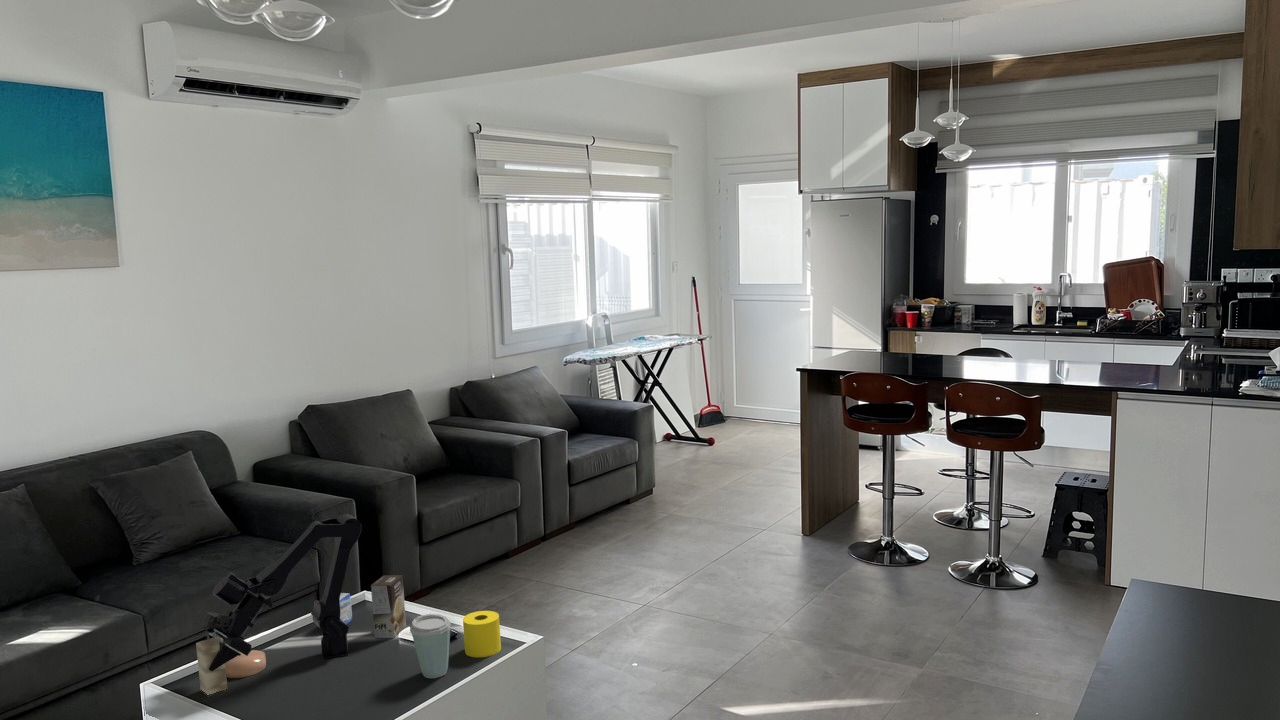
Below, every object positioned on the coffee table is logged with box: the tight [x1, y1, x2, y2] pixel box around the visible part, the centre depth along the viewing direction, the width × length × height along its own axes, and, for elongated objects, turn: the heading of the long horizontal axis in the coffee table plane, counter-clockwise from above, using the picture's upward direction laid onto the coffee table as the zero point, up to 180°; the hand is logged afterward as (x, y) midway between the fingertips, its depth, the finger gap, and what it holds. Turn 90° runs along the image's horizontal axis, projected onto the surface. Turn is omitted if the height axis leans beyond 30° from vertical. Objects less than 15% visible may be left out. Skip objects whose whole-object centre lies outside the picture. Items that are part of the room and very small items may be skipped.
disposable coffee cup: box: [409, 613, 452, 679], centre depth 250 cm, size 11×11×15 cm
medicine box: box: [340, 592, 353, 625], centre depth 288 cm, size 8×4×9 cm, turn 168°
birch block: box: [195, 637, 228, 696], centre depth 247 cm, size 5×5×13 cm
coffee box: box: [370, 574, 407, 639], centre depth 280 cm, size 9×6×16 cm
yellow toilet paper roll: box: [462, 610, 502, 658], centre depth 265 cm, size 10×10×9 cm
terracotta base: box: [225, 649, 267, 679], centre depth 259 cm, size 11×11×3 cm
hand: (206, 667), depth 246 cm, fingers closed on birch block, 5 cm apart
